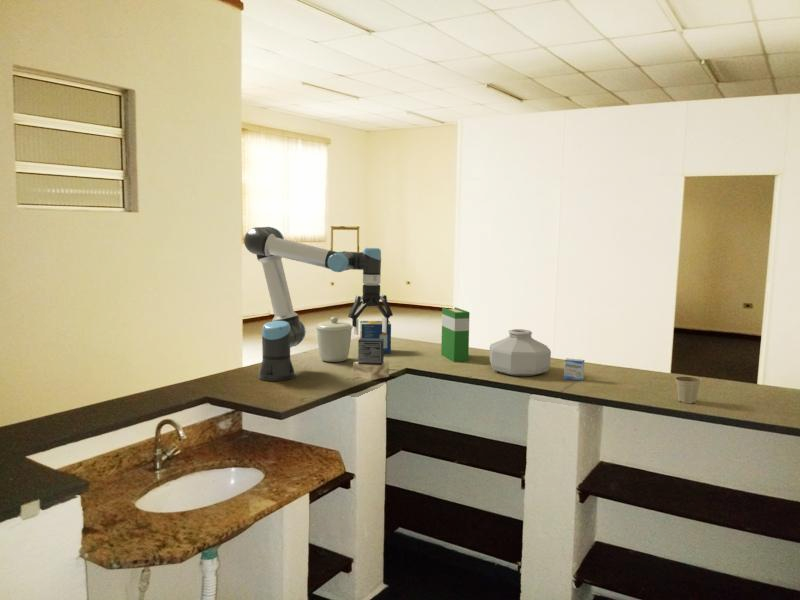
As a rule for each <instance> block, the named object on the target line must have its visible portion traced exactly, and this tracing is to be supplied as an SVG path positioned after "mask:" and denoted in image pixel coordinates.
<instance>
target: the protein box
mask: <svg viewBox="0 0 800 600" xmlns="http://www.w3.org/2000/svg"><path fill="white" fill-rule="evenodd" d="M359 324H360V327H359V329H360V330H359V333H360V334H359V335H360V338H373V339H384V355H391V354H392V323H391V322H390V320H388V325H387V333H384V332H382V320H360V321H359ZM360 338H359V339H360Z"/></svg>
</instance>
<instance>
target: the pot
mask: <svg viewBox="0 0 800 600" xmlns="http://www.w3.org/2000/svg"><path fill="white" fill-rule="evenodd" d="M532 335H533V332H532V331H531V330H529V329H523V328H522V329H521V328H519V329H518V328H516V329H510V330H508V336H506V337H505V338H503V339H501V340H500V339H499V340H498V341H495V342H493V343H490V345H489V363H490V365H491V368H492V370H493V371H496V372H498V373H500V374H504V375H509V376H516V377H517V376H518V377H531V376H536V375H541V374H542V373H546V372H548V371H549V369H550V367H551V358H552V357H551V356H552V355H551V354H552V351H551V349H550V347H548V346H547V345H546V344H544V343H543V342H540V341H538V340H537V339H534V338H532Z"/></svg>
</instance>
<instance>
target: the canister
mask: <svg viewBox="0 0 800 600" xmlns="http://www.w3.org/2000/svg"><path fill="white" fill-rule="evenodd" d="M314 328H315V329H316V336H317V344H318V352H319V357H320V359H321V360H322V361H324V362H327V363H328V362H329V363H339V362H345V361H346V360H347V359H348V358H349V354H350V347H351V338H352V330H353V329H354V327H353V326H352V324H351V323H348V322H344V321H339V318H338V317H337V316H331V317H330V321H324V322H320V323H318V324H317V325H315V326H314Z"/></svg>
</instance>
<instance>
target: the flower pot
mask: <svg viewBox="0 0 800 600" xmlns="http://www.w3.org/2000/svg"><path fill="white" fill-rule="evenodd" d="M674 380H675V383H676V390H677V400H678V402H682V403H684V404H693V403H696V402H697V398H698V393H699V387H700V386H701V383H702V379H701V378H698V377H694V376H686V375H685V376H684V375H683V376H679V375H678V376H675V377H674Z"/></svg>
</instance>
